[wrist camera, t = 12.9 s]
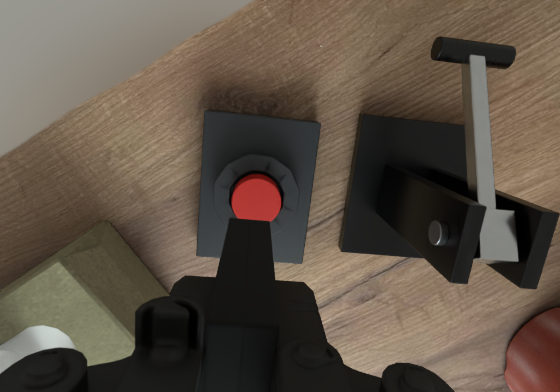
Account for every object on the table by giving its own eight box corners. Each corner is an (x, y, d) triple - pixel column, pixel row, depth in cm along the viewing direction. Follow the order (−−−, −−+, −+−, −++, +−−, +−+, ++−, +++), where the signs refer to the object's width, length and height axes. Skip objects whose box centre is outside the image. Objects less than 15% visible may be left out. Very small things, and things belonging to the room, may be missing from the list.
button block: (208, 109, 30) (201, 110, 26) (316, 121, 31) (325, 124, 27) (200, 246, 33) (192, 265, 29) (299, 254, 34) (304, 274, 30)
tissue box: (109, 216, 32) (-27, 325, 16) (179, 300, 34) (116, 462, 19) (-57, 327, 33) (-322, 521, 18) (20, 399, 36) (-156, 624, 20)
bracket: (359, 113, 31) (438, 123, 17) (472, 126, 32) (629, 145, 18) (338, 246, 34) (392, 342, 20) (442, 255, 35) (559, 352, 21)
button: (234, 171, 28) (233, 176, 26) (282, 175, 28) (283, 180, 26) (231, 216, 29) (229, 224, 27) (277, 220, 29) (278, 228, 27)
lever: (426, 49, 25) (445, 26, 23) (495, 58, 25) (521, 36, 23) (432, 259, 22) (455, 256, 19) (511, 265, 22) (543, 263, 20)
